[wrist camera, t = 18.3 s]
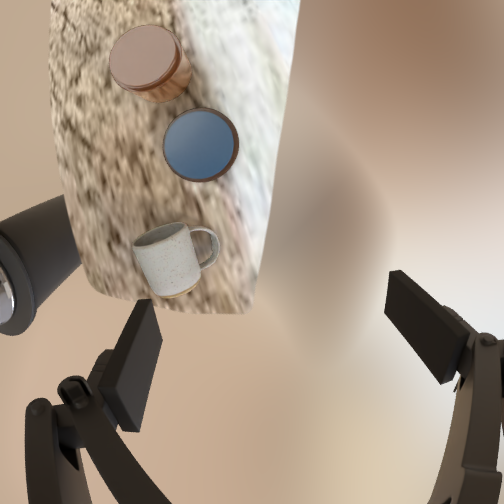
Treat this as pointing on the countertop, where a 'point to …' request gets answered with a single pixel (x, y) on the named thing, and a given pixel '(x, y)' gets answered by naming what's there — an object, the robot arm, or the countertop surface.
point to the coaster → (235, 148)
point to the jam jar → (150, 63)
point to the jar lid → (199, 145)
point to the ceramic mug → (172, 258)
